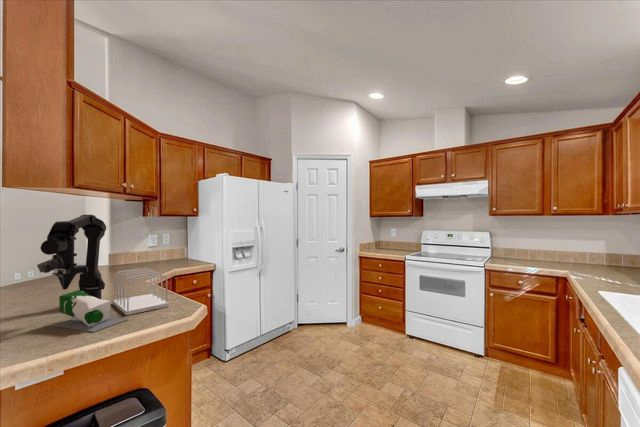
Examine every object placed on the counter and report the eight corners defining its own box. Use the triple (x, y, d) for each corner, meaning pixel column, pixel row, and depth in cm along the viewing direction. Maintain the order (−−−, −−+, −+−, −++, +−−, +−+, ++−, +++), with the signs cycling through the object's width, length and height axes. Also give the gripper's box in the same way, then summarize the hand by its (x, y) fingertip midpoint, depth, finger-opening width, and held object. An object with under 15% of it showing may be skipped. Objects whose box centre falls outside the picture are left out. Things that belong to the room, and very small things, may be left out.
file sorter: (169, 307, 135) (169, 273, 135) (125, 316, 122) (125, 279, 122) (152, 296, 152) (152, 267, 152) (112, 304, 139) (112, 271, 139)
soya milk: (56, 294, 112) (91, 309, 106) (82, 286, 121) (116, 300, 115) (56, 315, 114) (91, 331, 107) (81, 306, 122) (115, 320, 116)
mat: (90, 314, 124) (90, 313, 124) (127, 320, 117) (127, 319, 117) (53, 325, 111) (53, 324, 111) (93, 332, 104) (93, 331, 104)
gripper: (26, 253, 115) (26, 292, 114) (56, 255, 109) (56, 296, 108) (59, 250, 125) (59, 286, 125) (88, 251, 119) (88, 289, 119)
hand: (64, 289), depth 119 cm, fingers closed
